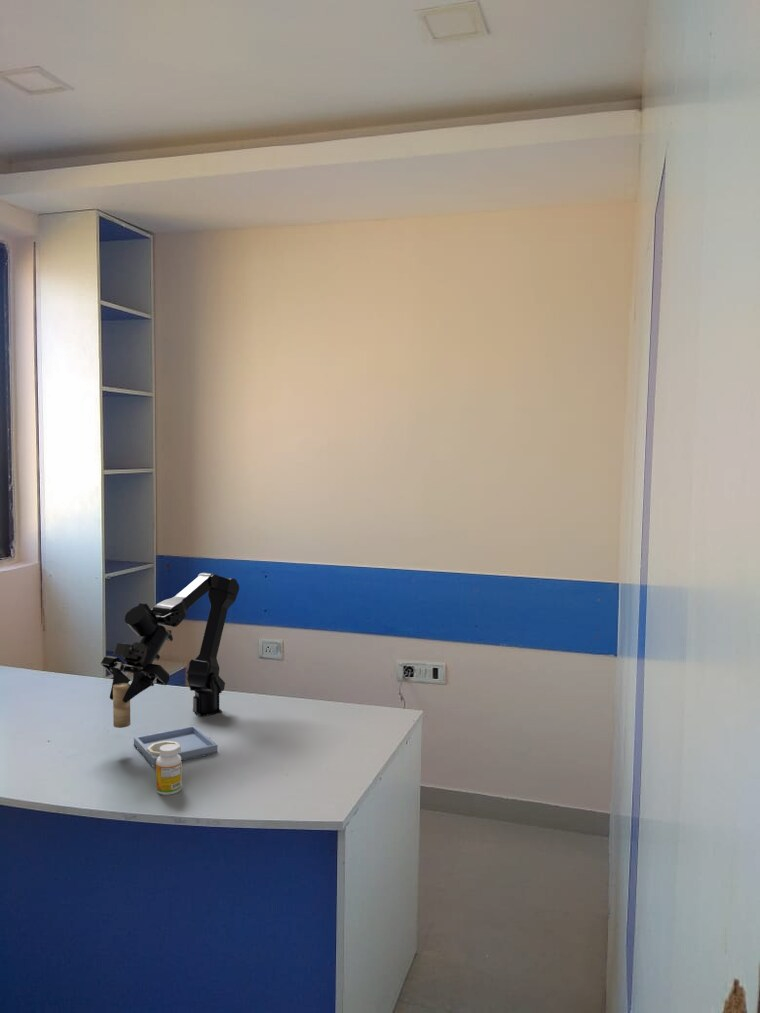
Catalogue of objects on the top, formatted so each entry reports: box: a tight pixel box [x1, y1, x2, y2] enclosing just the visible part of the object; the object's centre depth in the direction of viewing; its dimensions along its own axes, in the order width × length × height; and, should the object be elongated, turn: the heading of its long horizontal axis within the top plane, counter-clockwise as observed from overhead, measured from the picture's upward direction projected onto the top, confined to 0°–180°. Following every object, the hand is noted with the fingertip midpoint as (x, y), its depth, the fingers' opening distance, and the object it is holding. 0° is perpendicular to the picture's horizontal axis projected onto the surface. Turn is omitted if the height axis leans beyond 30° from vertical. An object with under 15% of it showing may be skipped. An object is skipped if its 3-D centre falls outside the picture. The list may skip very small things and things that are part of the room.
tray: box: [133, 725, 219, 767], centre depth 191 cm, size 16×16×2 cm
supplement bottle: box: [155, 744, 183, 796], centre depth 168 cm, size 5×5×10 cm
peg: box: [112, 683, 131, 729], centre depth 188 cm, size 4×4×10 cm
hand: (117, 700), depth 187 cm, fingers closed on peg, 4 cm apart
